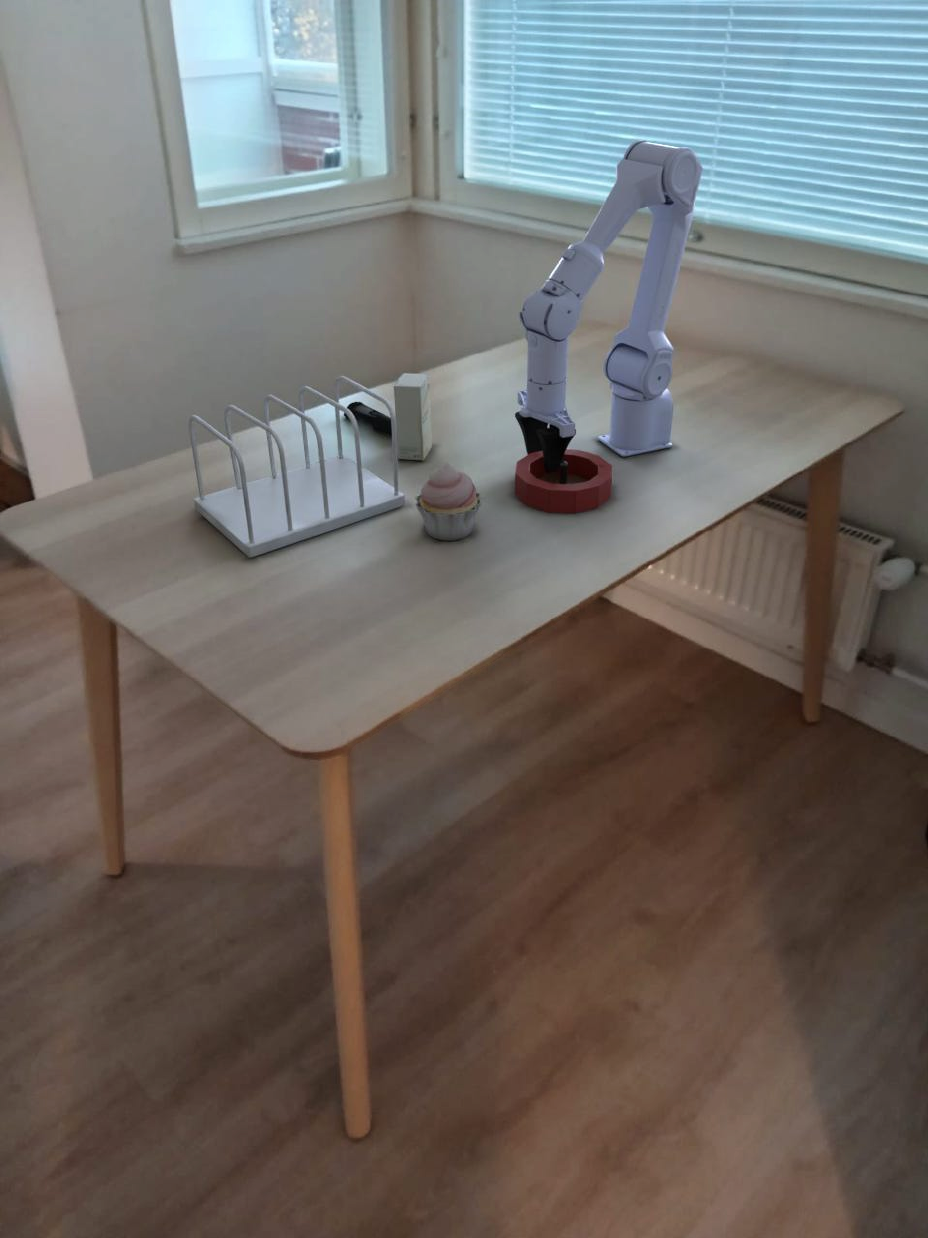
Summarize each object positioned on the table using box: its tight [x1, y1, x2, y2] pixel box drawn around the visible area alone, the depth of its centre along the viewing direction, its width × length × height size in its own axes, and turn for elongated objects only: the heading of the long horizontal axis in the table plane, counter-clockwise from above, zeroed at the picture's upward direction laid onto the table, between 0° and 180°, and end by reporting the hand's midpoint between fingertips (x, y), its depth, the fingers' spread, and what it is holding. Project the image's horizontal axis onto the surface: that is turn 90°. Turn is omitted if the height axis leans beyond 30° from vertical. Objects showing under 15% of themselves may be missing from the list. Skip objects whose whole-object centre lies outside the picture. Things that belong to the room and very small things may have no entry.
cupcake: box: [414, 462, 483, 542], centre depth 129 cm, size 9×9×10 cm
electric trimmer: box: [343, 401, 392, 437], centre depth 161 cm, size 4×16×3 cm, turn 42°
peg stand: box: [539, 461, 587, 485], centre depth 140 cm, size 8×8×5 cm
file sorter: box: [188, 375, 406, 559], centre depth 133 cm, size 25×17×16 cm
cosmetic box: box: [393, 372, 433, 461], centre depth 150 cm, size 6×4×12 cm
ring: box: [514, 448, 613, 514], centre depth 140 cm, size 14×14×4 cm
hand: (543, 463), depth 145 cm, fingers open, 5 cm apart
